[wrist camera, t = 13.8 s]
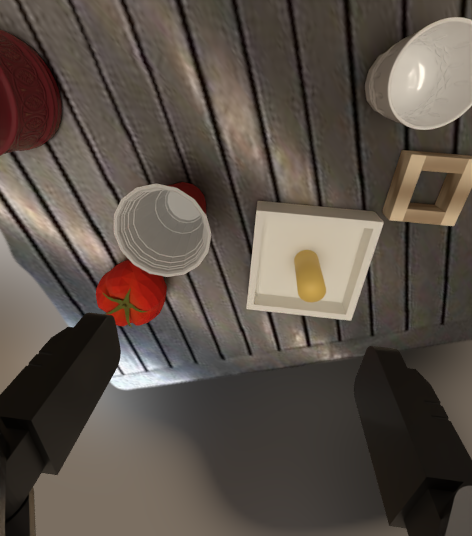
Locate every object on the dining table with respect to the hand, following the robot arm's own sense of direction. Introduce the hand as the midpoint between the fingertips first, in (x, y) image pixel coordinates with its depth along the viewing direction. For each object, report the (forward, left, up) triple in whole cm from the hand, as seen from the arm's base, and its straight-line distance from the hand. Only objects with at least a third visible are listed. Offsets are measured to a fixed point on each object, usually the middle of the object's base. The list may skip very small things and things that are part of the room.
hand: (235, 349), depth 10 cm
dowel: (+14, +8, -33) cm, 37 cm away
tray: (+14, +8, -34) cm, 38 cm away
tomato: (+21, -18, -34) cm, 44 cm away
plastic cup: (+7, -10, -34) cm, 36 cm away
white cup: (-9, +14, -34) cm, 38 cm away
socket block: (+2, +21, -34) cm, 40 cm away
